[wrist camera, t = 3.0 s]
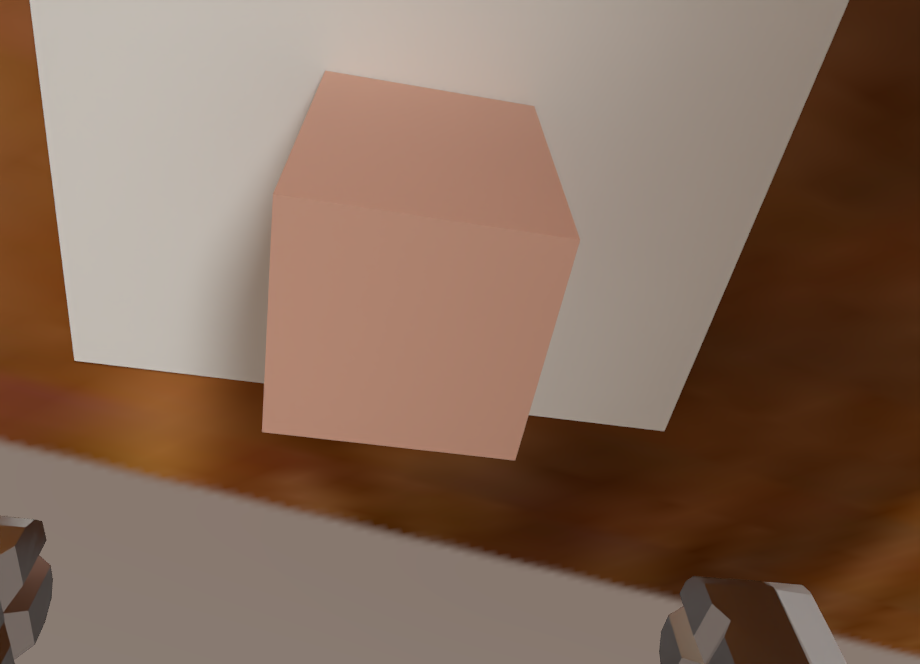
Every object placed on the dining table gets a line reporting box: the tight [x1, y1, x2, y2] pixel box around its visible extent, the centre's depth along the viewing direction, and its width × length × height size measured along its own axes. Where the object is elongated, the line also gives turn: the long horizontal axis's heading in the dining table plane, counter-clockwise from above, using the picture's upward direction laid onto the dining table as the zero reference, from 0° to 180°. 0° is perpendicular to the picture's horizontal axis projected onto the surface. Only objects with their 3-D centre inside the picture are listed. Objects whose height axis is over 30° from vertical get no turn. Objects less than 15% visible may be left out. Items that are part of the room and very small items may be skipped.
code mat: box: [30, 0, 849, 431], centre depth 20 cm, size 18×14×1 cm
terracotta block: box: [262, 71, 580, 460], centre depth 17 cm, size 5×5×7 cm
